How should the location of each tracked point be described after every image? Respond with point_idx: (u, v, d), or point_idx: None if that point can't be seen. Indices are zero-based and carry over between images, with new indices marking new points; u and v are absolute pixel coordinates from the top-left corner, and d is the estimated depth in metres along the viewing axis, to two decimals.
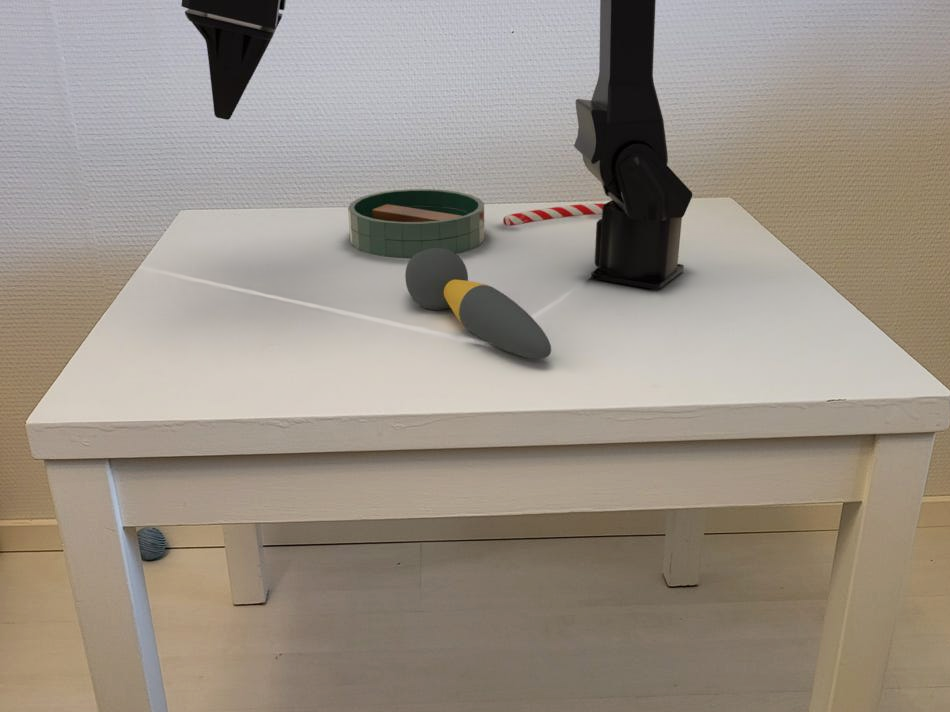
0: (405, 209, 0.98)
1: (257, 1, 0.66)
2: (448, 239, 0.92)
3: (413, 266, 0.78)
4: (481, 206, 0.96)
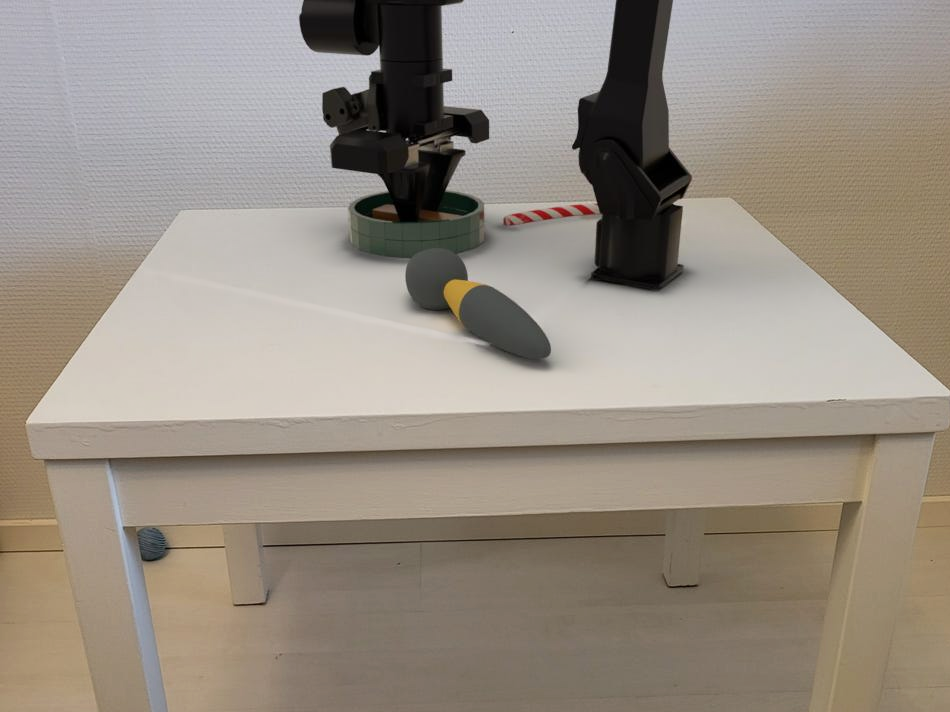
0: None
1: (370, 156, 0.85)
2: (448, 239, 0.92)
3: (413, 266, 0.78)
4: (481, 206, 0.96)
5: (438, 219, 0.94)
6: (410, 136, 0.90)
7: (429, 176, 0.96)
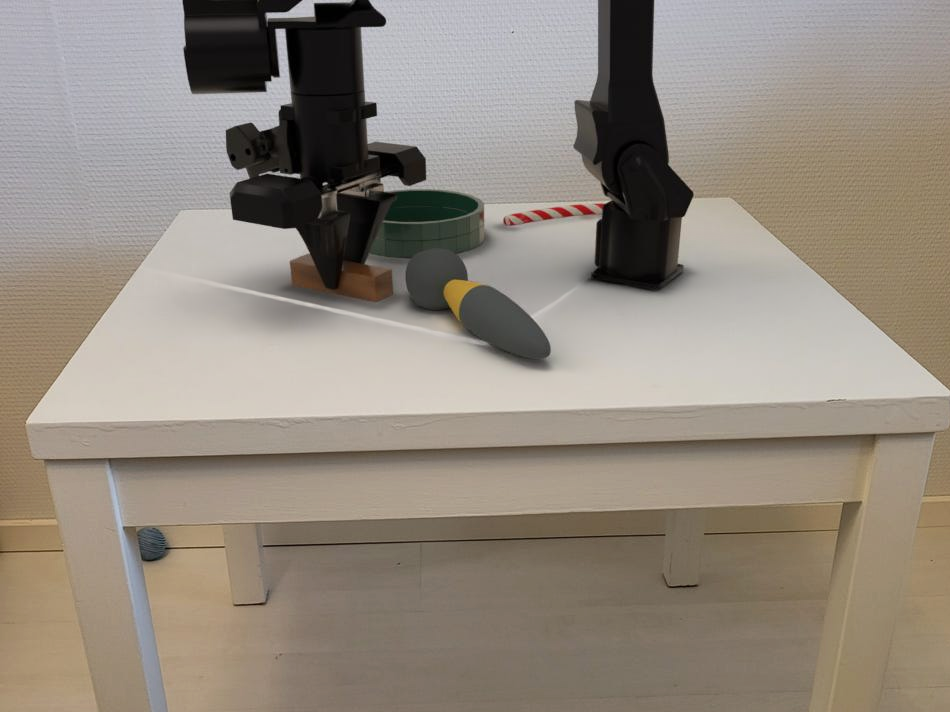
0: None
1: (274, 208, 0.72)
2: (448, 239, 0.92)
3: (413, 266, 0.78)
4: (481, 206, 0.96)
5: (363, 274, 0.81)
6: (327, 181, 0.77)
7: (355, 224, 0.83)
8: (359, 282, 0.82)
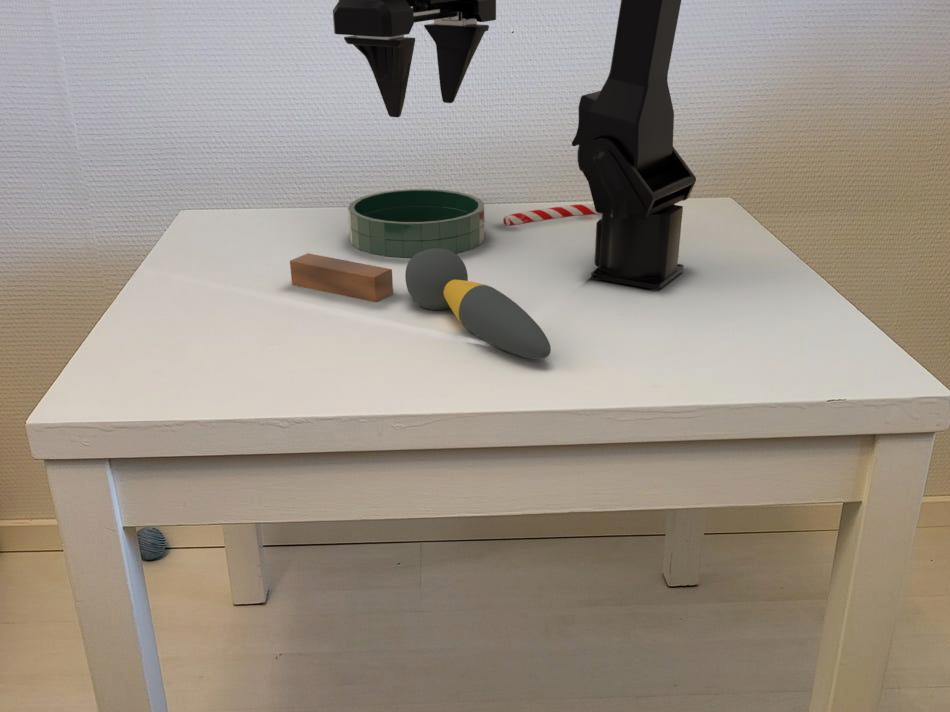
0: (327, 260, 0.85)
1: (374, 18, 0.83)
2: (448, 239, 0.92)
3: (413, 266, 0.78)
4: (481, 206, 0.96)
5: (363, 274, 0.81)
6: (415, 5, 0.88)
7: (452, 51, 0.96)
8: (359, 282, 0.82)
